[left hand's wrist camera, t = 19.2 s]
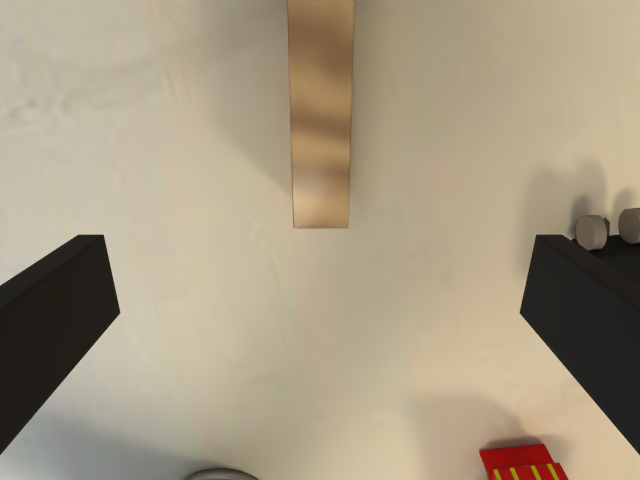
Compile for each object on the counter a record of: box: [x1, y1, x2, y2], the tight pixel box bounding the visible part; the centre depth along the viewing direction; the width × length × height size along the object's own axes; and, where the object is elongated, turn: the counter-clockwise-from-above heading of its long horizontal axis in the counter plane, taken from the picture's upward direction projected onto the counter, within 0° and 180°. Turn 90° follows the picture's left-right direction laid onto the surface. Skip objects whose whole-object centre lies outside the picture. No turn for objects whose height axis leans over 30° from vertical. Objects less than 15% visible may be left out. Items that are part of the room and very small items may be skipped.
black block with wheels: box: [572, 208, 640, 286], centre depth 44 cm, size 7×8×15 cm
